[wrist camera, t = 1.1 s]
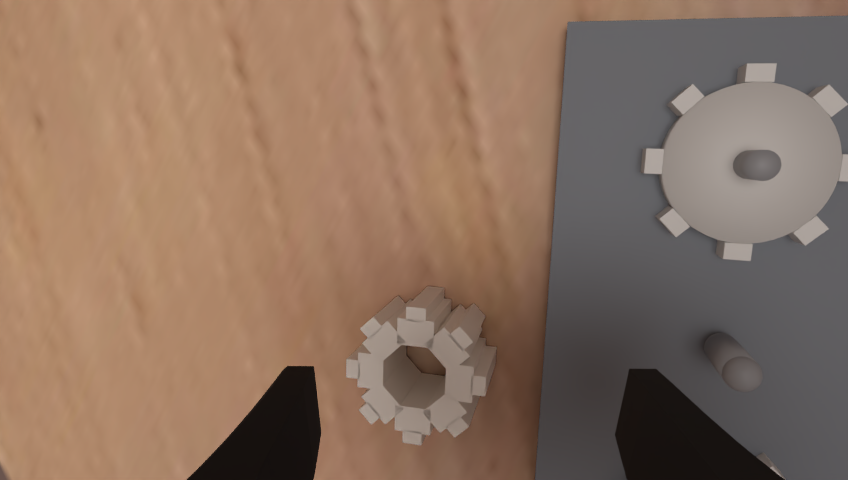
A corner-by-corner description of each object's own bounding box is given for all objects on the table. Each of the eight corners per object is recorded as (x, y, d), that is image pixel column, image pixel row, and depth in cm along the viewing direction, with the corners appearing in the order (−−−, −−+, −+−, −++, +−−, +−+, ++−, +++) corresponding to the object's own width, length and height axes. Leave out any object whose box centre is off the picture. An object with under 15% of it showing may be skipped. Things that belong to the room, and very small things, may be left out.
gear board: (846, 628, 23) (917, 747, 18) (529, 562, 26) (521, 651, 21) (957, 20, 19) (1082, -21, 14) (567, 28, 22) (568, -5, 17)
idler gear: (492, 415, 25) (481, 455, 22) (373, 397, 27) (345, 433, 23) (499, 292, 24) (489, 315, 21) (375, 281, 26) (347, 300, 22)
